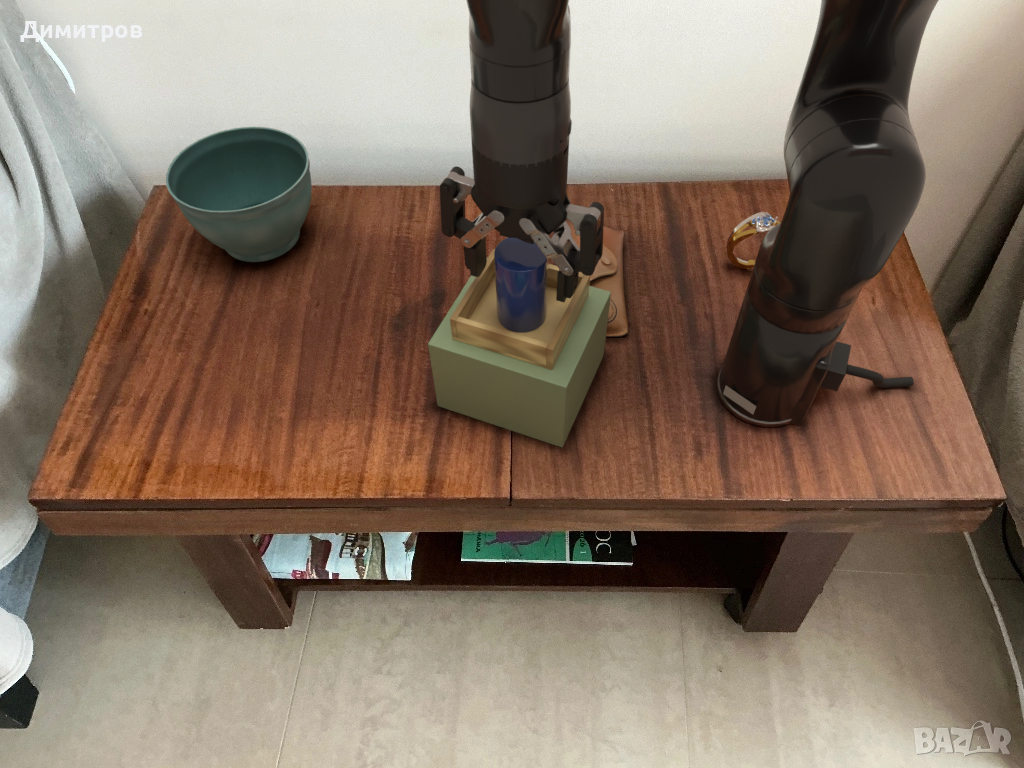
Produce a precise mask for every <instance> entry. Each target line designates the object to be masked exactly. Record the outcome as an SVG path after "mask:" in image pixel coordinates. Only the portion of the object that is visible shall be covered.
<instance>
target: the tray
mask: <svg viewBox="0 0 1024 768" xmlns="http://www.w3.org/2000/svg"><path fill="white" fill-rule="evenodd" d="M491 250H492V251H491V252H490V253H489V255H488V256H487V263H486V266H485V268H484V270H483V271H482V273H481V275H480V276H479V277H476V278H475V279H474V281H473V282H472V284H471V286H470V287H469V289H468V290H467V292H466V294H465V295H464V297H463V298H462V300H461V302H460V303H459V305H458V307H457V308H456V310H455V311H454V313H453V315H452V316H451V318H450V324H451V332H452V339H453V340H457V341H460V342H463V343H466V344H470V345H473V346H476V347H479V348H483V349H486V350H489V351H492V352H495V353H499V354H502V355H505V356H508V357H512V358H515V359H518V360H521V361H525V362H528V363H531V364H534V365H537V366H541V367H544V368H547V369H550V370H553V368H554V366H555V364H556V361H557V359H558V357H559V355H560V353H561V351H562V349H563V347H564V345H565V343H566V341H567V339H568V337H569V335H570V333H571V331H572V329H573V327H574V325H575V323H576V321H577V319H578V317H579V314H580V312H581V310H582V308H583V306H584V304H585V302H586V300H587V298H588V296H589V285H590V276H586V275H584V274H583V273H581V272H579V277H578V286H577V288H576V290H575V292H574V294H573V295H572V297H571V298H566V300H565V302H560V301H557V300H556V296H557V274H558V271H559V268H558V267H557V265H556V264H551V263H548V281H547V315H546V319H545V321H544V323H543V324H542V325H541V326H540V327H539V328H537V329H535V330H533V331H530V332H524V333H519V332H513V331H510V330H508V329H506V328H505V327H503V326H502V325H501V324H500V322H499V320H498V318H497V303H496V281H495V260H494V251H495V248H492V249H491Z"/></svg>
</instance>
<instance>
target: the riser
mask: <svg viewBox="0 0 1024 768" xmlns="http://www.w3.org/2000/svg"><path fill="white" fill-rule="evenodd" d="M475 278H476V277H475V276H471V275H470V276H469V278H468V280H467V281H466V283H465V285H464V286H463V287H462V289H461V291H460V292H459V294H458V295H457V297H456V299H455V300H454V302H453V303H452V305H451V307H450V309H448V312H447V313H446V315H445V316H444V317H443V319H442V321H441V322H440V323H439V326H438V327H437V329H436V330H435V332H434V333H433V335H432V336H431V338H430V340H429V342H428V343H427V348H428V353H429V359H430V367H431V372H432V379H433V386H434V392H435V398H436V405H437V407H439V408H442V409H446V410H448V411H452V412H455V413H458V414H460V415H463V416H467V417H469V418H472V419H474V420H479V421H481V422H484V423H487V424H489V425H493V426H496V427H500V428H502V429H505V430H509V431H511V432H514V433H517V434H520V435H523V436H525V437H529V438H531V439H535V440H537V441H541V442H544V443H546V444H550V445H553V446H555V447H559V448H564V446H565V444H566V441H567V439H568V436H569V435H570V432H571V430H572V428H573V425H574V423H575V421H576V419H577V416H578V415H579V413H580V411H581V407H582V405H583V403H584V401H585V398H586V396H587V395H588V392H589V390H590V388H591V385H592V382H593V380H594V379H595V377H596V375H597V371H598V370H599V367H600V365H601V363H602V360H603V359H604V354H605V347H606V340H607V339H606V338H607V337H606V330H607V322H608V314H609V306H610V297H611V292H610V291H606V290H602V289H599V288H595V287H592V286H589V296H588V298H587V300H586V302H585V304H584V306H583V308H582V310H581V312H580V314H579V317H578V319H577V321H576V323H575V325H574V327H573V329H572V331H571V333H570V335H569V337H568V339H567V341H566V343H565V345H564V347H563V349H562V351H561V353H560V355H559V357H558V359H557V361H556V364H555V366H554V368H553V370H550V369H547V368H544V367H541V366H537V365H534V364H531V363H528V362H525V361H521V360H518V359H515V358H512V357H508V356H505V355H502V354H499V353H495V352H492V351H489V350H486V349H483V348H479V347H476V346H473V345H470V344H466V343H463V342H460V341H457V340H453V339H452V332H451V324H450V318H451V316H452V315H453V313H454V311H455V310H456V308H457V307H458V305H459V303H460V302H461V300H462V298H463V297H464V295H465V294H466V292H467V290H468V289H469V287H470V286H471V284H472V282H473V281H474V279H475Z"/></svg>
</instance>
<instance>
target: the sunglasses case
mask: <svg viewBox="0 0 1024 768" xmlns="http://www.w3.org/2000/svg"><path fill="white" fill-rule="evenodd" d="M565 221H566V223H567V224H568V226H569V227H570V229H571V236H572V238H573V239H574V241H575V242H576V244H577V245H578V246H579V248H580V236H578V235H576V234H575V231H576V230H575V229H574V225H573V223H572V222H571V221H569V220H567V219H566V220H565ZM624 238H625V230H622V229H614V228H611V227H608V226H605V225H604V226H603V254H602V257H601V259H600V260H599V261H598V263H597V265H596V267H595V271H594V273H593V274H592V275H591V276H590V285H589V286H592V287H595V288H599V289H602V290H606V291H610V292H611V297H610V306H609V314H608V322H607V330H606V338H619V337H625V336H626V335H628V334H629V323H628V322H629V321H628V315H627V314H628V313H627V306H626V299H625V282H624V257H623V256H624ZM564 252H565V251H564ZM566 255H567V254H566ZM581 273H582V272H581Z"/></svg>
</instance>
